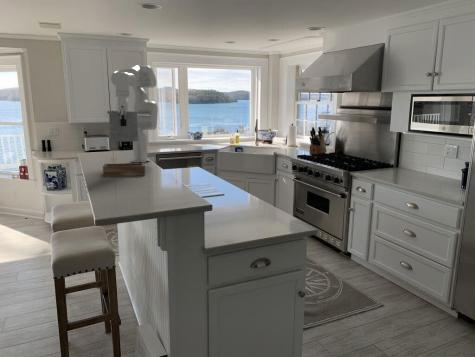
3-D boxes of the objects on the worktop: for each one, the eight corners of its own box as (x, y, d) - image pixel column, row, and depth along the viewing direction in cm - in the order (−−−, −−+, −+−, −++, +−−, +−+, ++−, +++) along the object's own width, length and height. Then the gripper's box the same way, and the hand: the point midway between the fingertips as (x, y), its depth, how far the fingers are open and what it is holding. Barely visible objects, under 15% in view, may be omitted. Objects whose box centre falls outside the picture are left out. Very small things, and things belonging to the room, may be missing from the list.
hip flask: (137, 140, 227) (136, 107, 223) (138, 141, 223) (137, 107, 219) (110, 140, 222) (108, 106, 218) (110, 141, 218) (108, 106, 214)
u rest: (105, 172, 223) (105, 163, 222) (145, 171, 228) (144, 162, 227) (103, 176, 211) (102, 167, 210) (144, 175, 217) (144, 166, 215)
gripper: (117, 94, 225) (118, 124, 228) (114, 93, 209) (115, 126, 212) (130, 94, 226) (131, 125, 230) (128, 94, 210) (129, 126, 214)
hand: (123, 125), depth 221 cm, fingers closed on hip flask, 4 cm apart
